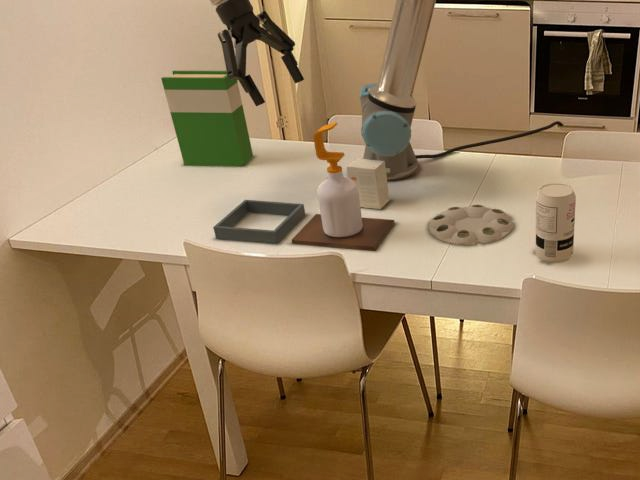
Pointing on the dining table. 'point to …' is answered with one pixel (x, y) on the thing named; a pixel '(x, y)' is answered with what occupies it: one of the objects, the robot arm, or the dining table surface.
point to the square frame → (257, 235)
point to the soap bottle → (337, 194)
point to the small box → (370, 182)
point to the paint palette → (470, 225)
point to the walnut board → (362, 240)
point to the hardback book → (208, 118)
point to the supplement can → (555, 222)
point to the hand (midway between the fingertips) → (280, 92)
